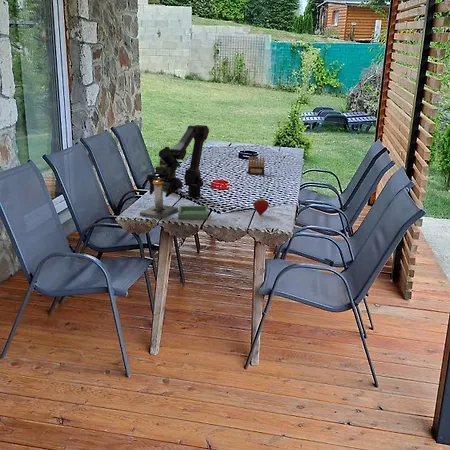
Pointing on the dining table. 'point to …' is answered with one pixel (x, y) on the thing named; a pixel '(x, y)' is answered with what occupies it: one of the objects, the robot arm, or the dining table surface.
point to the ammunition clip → (256, 166)
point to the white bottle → (158, 195)
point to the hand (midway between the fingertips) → (157, 195)
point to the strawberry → (261, 206)
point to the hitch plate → (166, 211)
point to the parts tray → (193, 212)
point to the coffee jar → (165, 185)
